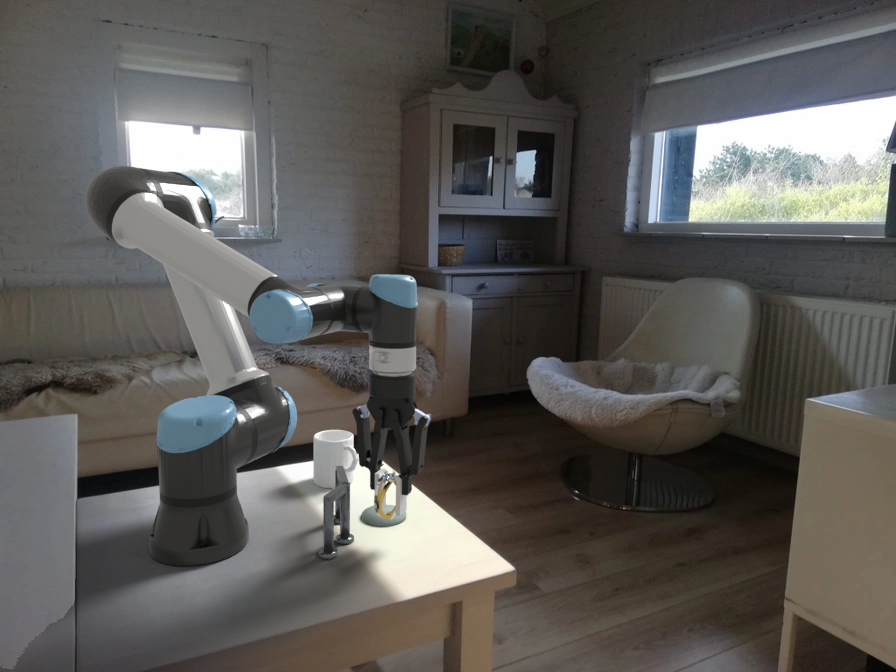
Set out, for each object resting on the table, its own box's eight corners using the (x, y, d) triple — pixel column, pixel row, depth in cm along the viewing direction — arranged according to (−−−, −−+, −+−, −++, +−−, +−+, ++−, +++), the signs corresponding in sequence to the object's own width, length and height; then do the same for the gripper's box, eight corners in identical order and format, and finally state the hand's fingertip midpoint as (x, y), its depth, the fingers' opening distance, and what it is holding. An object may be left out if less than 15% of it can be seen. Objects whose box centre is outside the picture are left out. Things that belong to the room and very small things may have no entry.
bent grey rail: (290, 552, 104) (290, 492, 103) (336, 515, 118) (336, 463, 117) (332, 561, 102) (332, 500, 100) (373, 522, 116) (374, 469, 114)
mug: (340, 497, 126) (340, 448, 125) (306, 480, 135) (305, 434, 133) (372, 487, 132) (373, 440, 131) (338, 471, 140) (338, 427, 139)
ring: (383, 528, 103) (382, 480, 102) (368, 523, 105) (367, 475, 104) (411, 513, 109) (410, 467, 108) (396, 509, 111) (395, 464, 110)
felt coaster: (354, 521, 116) (354, 518, 116) (373, 504, 123) (373, 501, 123) (395, 529, 113) (395, 526, 113) (412, 511, 121) (412, 508, 121)
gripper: (336, 370, 103) (336, 510, 107) (430, 380, 98) (427, 528, 101) (358, 363, 110) (357, 494, 114) (447, 371, 105) (444, 509, 108)
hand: (390, 510), depth 108 cm, fingers closed on ring, 3 cm apart
